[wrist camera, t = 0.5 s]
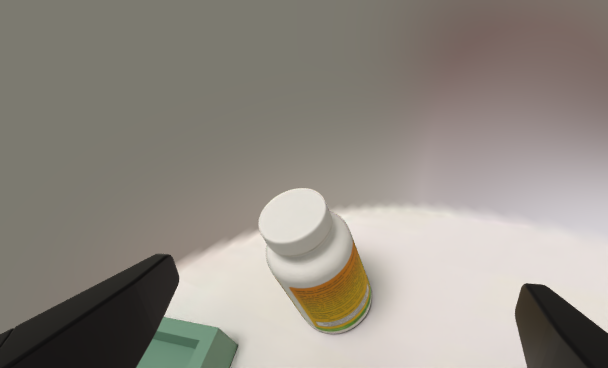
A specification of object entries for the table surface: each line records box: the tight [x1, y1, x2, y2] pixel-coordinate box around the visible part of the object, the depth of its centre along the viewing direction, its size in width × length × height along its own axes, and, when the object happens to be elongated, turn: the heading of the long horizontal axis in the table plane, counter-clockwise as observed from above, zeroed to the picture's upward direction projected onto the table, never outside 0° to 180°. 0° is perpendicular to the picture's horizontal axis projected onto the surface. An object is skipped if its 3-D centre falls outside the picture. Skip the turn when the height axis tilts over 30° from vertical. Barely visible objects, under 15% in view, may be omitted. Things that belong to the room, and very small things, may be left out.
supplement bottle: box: [259, 188, 372, 334], centre depth 21 cm, size 5×5×10 cm
